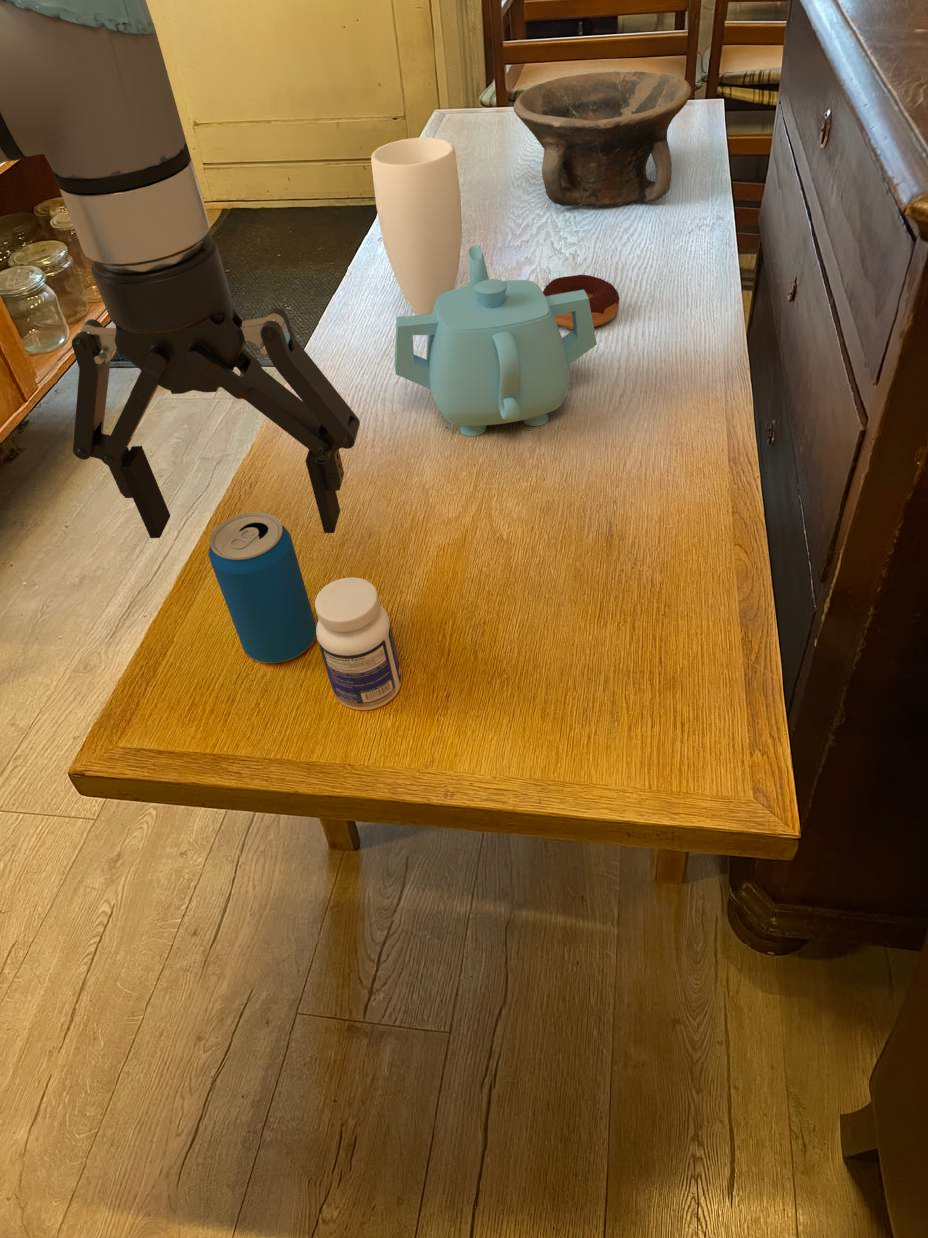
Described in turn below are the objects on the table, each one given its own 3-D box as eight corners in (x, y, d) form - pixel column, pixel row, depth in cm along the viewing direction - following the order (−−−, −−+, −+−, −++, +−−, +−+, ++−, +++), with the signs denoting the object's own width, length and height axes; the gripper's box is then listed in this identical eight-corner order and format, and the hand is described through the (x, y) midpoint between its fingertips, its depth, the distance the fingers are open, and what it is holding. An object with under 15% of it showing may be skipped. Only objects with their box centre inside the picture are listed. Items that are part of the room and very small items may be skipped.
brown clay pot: (527, 167, 156) (524, 69, 145) (682, 162, 151) (690, 61, 140) (507, 228, 137) (501, 121, 127) (683, 224, 132) (692, 113, 122)
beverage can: (333, 630, 77) (304, 521, 69) (285, 679, 74) (249, 571, 65) (277, 606, 80) (243, 499, 72) (228, 652, 76) (186, 545, 68)
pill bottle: (349, 655, 75) (327, 566, 68) (412, 666, 73) (396, 577, 66) (321, 706, 71) (294, 618, 64) (387, 719, 70) (367, 631, 63)
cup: (489, 327, 114) (477, 147, 99) (425, 357, 110) (402, 174, 95) (440, 303, 121) (422, 129, 106) (377, 330, 117) (349, 154, 101)
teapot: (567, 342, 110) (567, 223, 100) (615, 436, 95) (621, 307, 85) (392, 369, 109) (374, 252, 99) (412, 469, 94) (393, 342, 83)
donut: (628, 327, 112) (629, 296, 109) (551, 339, 111) (551, 308, 108) (606, 293, 119) (607, 263, 116) (534, 304, 118) (533, 274, 115)
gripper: (365, 207, 54) (411, 489, 69) (-16, 235, 57) (108, 499, 72) (345, 259, 49) (400, 552, 64) (-74, 287, 52) (73, 560, 67)
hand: (245, 524), depth 68 cm, fingers open, 13 cm apart
